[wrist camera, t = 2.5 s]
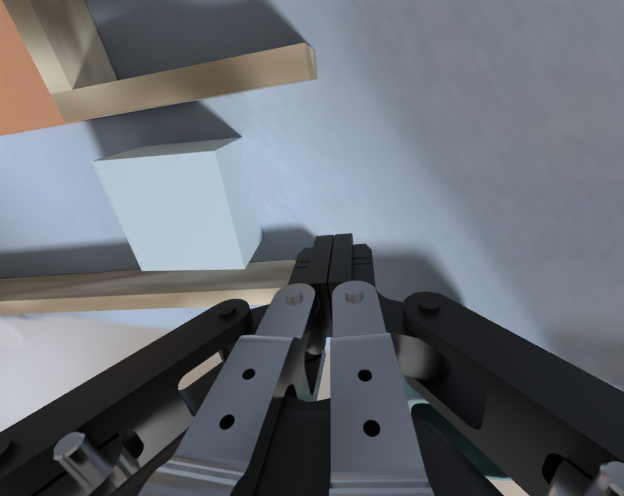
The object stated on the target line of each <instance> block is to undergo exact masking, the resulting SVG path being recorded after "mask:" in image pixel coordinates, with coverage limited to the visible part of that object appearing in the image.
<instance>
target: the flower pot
mask: <svg viewBox="0 0 624 496" xmlns="http://www.w3.org/2000/svg"><path fill="white" fill-rule="evenodd" d="M400 374H401V373H400ZM401 378H402V381H403V385H404V389H405V393H406V397H407V401H408V405H409V409H410V413H411V414H414V415H416V416H417V417H419V418H421V419H423V420H425V421H426V422H428V423H429V424H431V425H432V426H434V427H435V428H436V429H438V430H439V431H440V432H441V433H442V434H444V435H445V436H446V437H447V438H448V439H449V440H450V441H451V442H452V443H453V444H454V445H455V446H456V447H457V448H458V449H459V450H460V451H461V452H462V453H463V454H464V455H465V456H466V457H467V458H468V459H469V460H470V461H471V463H472V464H473V465H474V466H475V467H476V468H477V469H478V470H479V471H480V472H481V473H482V474H483V475H484V476H485V477H486V478H487V479H495V480H503V481H507V480H508V481H513V480H512V479H511V478H510V477H509V476H508V475H507V474H506V473H504V472H503V471H502V470H501V469H500V468H499V467H498V466H497V465H496V464H495V463H494V462H492V461H491V460H490V459H489V458H488V457H487V456H486V455H485V454H484V453H483V452H482V451H480V450H479V449H478V448H477V447H476V446H475V445H474V444H473V443H472V442H471V441H470V440H469V439H467V438H466V437H465V436H464V435H463V434H462V433H461V432H460V431H459V430H458V429H457V428H455V427H454V426H453V425H452V424H451V423H450V422H449V421H448V420H447V419H446V418H445V417H443V416H442V415H441V414H440V413H439V412H438V411H437V410H436V409H435V408H434V407H433V406H431V405H430V404H429V403H428V402H427V401H426V400H425V399H424V398H423V397H422V396H421V395H419V394H418V393H417V392H416V391H415V390H414V389H413V388H412V387H411V386H410V385H409V384H408V383H407V382H406V380H405V378H404V375H403V374H401Z"/></svg>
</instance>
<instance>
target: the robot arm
mask: <svg viewBox="0 0 624 496" xmlns="http://www.w3.org/2000/svg"><path fill="white" fill-rule="evenodd" d="M326 337H331V339H330V374H331V375H330V377H331V378H330V381H331V398H329V399H324V400H320V401H317V396H318V392H319V387H320V381H321V377H322V371H323V367H324V362H325V356H326V353H325V345H326ZM217 352H219V355H220V357H221V359H222V362H221V363H220V364H218V365H217V366H216V367H214V368H213V369H211V370H210V371H209V372H207V373H206V374H205V375H203V376H202V377H200V378H199V379H198V380H197V381H195V382H194V383H192V384H191V385H190V386H188V387H187V388H185V389H182V390H178V384H179V382H180V380H181V379H182V377H183V376H184V375H185V374H187V373H188V372H190V371H191V370H192V369H194V368H195V367H197V366H198V365H199V364H201V363H203V362H204V361H205V360H207V359H208V358H210V357H211V356H213V355H214V354H215V353H217ZM400 373H401V374H403V375H404V378H405V380H406V382H407V383H408V384H409V385H410V386H411V387H412V388H413V389H414V390H415V391H416V392H417V393H418V394H419V395H421V396H422V397H423V398H424V399H425V400H426V401H427V402H428V403H429V404H430V405H431V406H433V407H434V408H435V409H436V410H437V411H438V412H439V413H440V414H441V415H442V416H443V417H445V418H446V419H447V420H448V421H449V422H450V423H451V424H452V425H453V426H454V427H455V428H457V429H458V430H459V431H460V432H461V433H462V434H463V435H464V436H465V437H466V438H467V439H469V440H470V441H471V442H472V443H473V444H474V445H475V446H476V447H477V448H478V449H479V450H480V451H482V452H483V453H484V454H485V455H486V456H487V457H488V458H489V459H490V460H491V461H492V462H494V463H495V464H496V465H497V466H498V467H499V468H500V469H501V470H502V471H503V472H504V473H506V474H507V475H508V476H509V477H510V478H511V479H512V480H513V481H514V482H515V483H516V484H518V485H519V486H520V487H521V488H522V489H523V490H524V491H525V492H526V493H527V494H528V495H530V496H624V392H623V391H621V390H619V389H617V388H615V387H613V386H612V385H610V384H608V383H606V382H604V381H602V380H600V379H598V378H597V377H595V376H593V375H591V374H589V373H587V372H585V371H583V370H582V369H580V368H578V367H576V366H574V365H572V364H570V363H569V362H567V361H565V360H563V359H561V358H559V357H557V356H555V355H554V354H552V353H550V352H548V351H546V350H544V349H542V348H541V347H539V346H537V345H535V344H533V343H531V342H529V341H527V340H526V339H524V338H522V337H520V336H518V335H516V334H514V333H512V332H511V331H509V330H507V329H505V328H503V327H501V326H499V325H498V324H496V323H494V322H492V321H490V320H488V319H486V318H484V317H483V316H481V315H479V314H477V313H475V312H473V311H471V310H470V309H468V308H466V307H464V306H462V305H460V304H458V303H456V302H455V301H453V300H451V299H449V298H447V297H445V296H443V295H441V294H438V293H433V292H418V293H414V294H412V295H410V296H408V297H407V298H406V299H405V300H404V302H398V301H393V300H390V299H387V298H385V297H383V296H382V295H380V294H379V293H378V291H377V290H376V287H375V279H374V269H373V260H372V251H371V249H370V248H369V247H368V246H367V245H366V244H356V245H353V236H352V233H349V234H336V235H335V236H334V235H324V236H316V239H315V243H314V247H313V248H305V249H303V250H302V251H301V252H300V253H299V254H298V256H297V259H296V263H295V265H294V269H293V271H292V274H291V277H290V280H289V283H288V285H287V286H285V287H283V288H281V289H280V290H278V291H277V292H276V293H275V295H274V297H273V299H272V301H271V303H270V304H268V305H265V306H261V307H257V308H253V309H250V307H249V304H248V303H247V302H246V301H245V300H243V299H229V300H225V301H223V302H220V303H218V304H217V305H215V306H213V307H211V308H210V309H208V310H206V311H205V312H203V313H201V314H200V315H198V316H196V317H195V318H193V319H191V320H190V321H188V322H186V323H184V324H183V325H181V326H179V327H178V328H176V329H174V330H173V331H171V332H169V333H168V334H166V335H164V336H162V337H161V338H159V339H157V340H156V341H154V342H152V343H151V344H149V345H147V346H146V347H144V348H142V349H140V350H139V351H137V352H136V353H134V354H132V355H130V356H129V357H127V358H125V359H124V360H122V361H120V362H118V363H117V364H115V365H113V366H112V367H110V368H108V369H107V370H105V371H103V372H102V373H100V374H98V375H96V376H95V377H93V378H91V379H90V380H88V381H86V382H85V383H83V384H81V385H80V386H78V387H76V388H75V389H73V390H71V391H69V392H68V393H66V394H64V395H63V396H61V397H59V398H58V399H56V400H54V401H52V402H51V403H49V404H48V405H46V406H44V407H42V408H41V409H39V410H37V411H36V412H34V413H32V414H31V415H29V416H27V417H26V418H24V419H22V420H20V421H19V422H17V423H16V424H14V425H12V426H10V427H9V428H7V429H5V430H4V431H2V432H0V496H504V495H502V493H501V492H500V491H499V490H498V489H497V488H496V487H495V486H494V485H493V484H492V483H491V482H490V481H489V480H488V479H487V478H486V477H485V476H484V475H483V474H482V473H481V472H480V471H479V470H478V469H477V468H476V467H475V466H474V465H473V464H472V463H471V461H470V460H469V459H468V458H467V457H466V456H465V455H464V454H463V453H462V452H461V451H460V450H459V449H458V448H457V447H456V446H455V445H454V444H453V443H452V442H451V441H450V440H449V439H448V438H447V437H446V436H445V435H444V434H442V433H441V432H440V431H439V430H438V429H436V428H435V427H434V426H432V425H431V424H429V423H428V422H426V421H425V420H423V419H421V418H419V417H417V416H416V415H414V414H411V413H410V409H409V405H408V401H407V397H406V393H405V389H404V385H403V381H402V378H401V374H400Z"/></svg>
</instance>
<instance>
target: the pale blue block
mask: <svg viewBox="0 0 624 496" xmlns="http://www.w3.org/2000/svg"><path fill="white" fill-rule="evenodd" d="M92 163H93V166H94V168H95V170H96V172H97V174H98V176H99V179H100V181H101V183H102V185H103V187H104V189H105V192H106V194H107V196H108V198H109V200H110V203H111V205H112V207H113V209H114V211H115V213H116V216H117V218H118V220H119V222H120V224H121V226H122V229H123V231H124V233H125V235H126V237H127V240H128V242H129V244H130V246H131V248H132V250H133V253H134V255H135V257H136V259H137V261H138V263H139V266H140V268H141V270H142V271H172V270H231V269H245V268H246V266H247V264H248V263H249V261H250V259H251V258H252V256H253V254H254V252H255V251H256V249H257V247H258V246H259V244H260V242H261V240H262V239H263V234H262V229H261V225H260V220H259V215H258V210H257V205H256V200H255V195H254V190H253V185H252V181H251V176H250V171H249V166H248V161H247V156H246V151H245V146H244V142H243V137H238V138H227V139H217V140H206V141H195V142H184V143H173V144H163V145H152V146H141V147H138V148H135V149H131V150H128V151H125V152H121V153H118V154H115V155H111V156H108V157H105V158H101V159H98V160H95V161H92Z"/></svg>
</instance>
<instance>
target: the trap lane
mask: <svg viewBox="0 0 624 496" xmlns="http://www.w3.org/2000/svg"><path fill="white" fill-rule="evenodd" d="M315 79H318V74H317V66H316V58H315V50H314V49H312V48H311V47H310V46H309V45H307V44H306V43H300V44H295V45H290V46H285V47H280V48H275V49H270V50H265V51H260V52H255V53H251V54H246V55H241V56H236V57H231V58H226V59H221V60H216V61H211V62H206V63H201V64H196V65H192V66H187V67H182V68H177V69H172V70H167V71H162V72H157V73H152V74H147V75H142V76H137V77H132V78H128V79H123V80H117V78H116V75H115V73H114V70H113V68H112V66H111V63H110V61H109V58H108V56H107V53H106V51H105V48H104V46H103V44H102V41H101V39H100V36H99V34H98V31H97V29H96V26H95V24H94V22H93V19H92V17H91V14H90V12H89V9H88V7H87V4H86V2H85V0H0V136H1V135H7V134H12V133H18V132H24V131H29V130H35V129H40V128H46V127H52V126H57V125H63V124H68V123H74V122H80V121H85V120H91V119H96V118H102V117H108V116H113V115H119V114H124V113H130V112H136V111H141V110H147V109H152V108H158V107H164V106H169V105H175V104H180V103H186V102H192V101H197V100H203V99H208V98H214V97H219V96H225V95H231V94H236V93H242V92H247V91H253V90H259V89H264V88H270V87H275V86H281V85H287V84H292V83H298V82H303V81H309V80H315ZM295 263H296V259H295V260H279V261H264V262H249V263H248V264H247V266H246V268H245V269H231V270H172V271H142V270H128V271H112V272H97V273H82V274H67V275H52V276H37V277H21V278H6V279H0V314H25V313H52V312H78V311H104V310H131V309H157V308H183V307H210V306H215V305H217V304H218V303H220V302H223V301H225V300H229V299H243V300H245V301H246V302H247V303H248V304H249V305H263V304H270V303H271V301H272V299H273V297H274V295H275V293H276V292H277V291H278V290H280V289H281V288H283V287H285V286H287V285H288V283H289V280H290V277H291V274H292V271H293V269H294V265H295Z"/></svg>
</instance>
